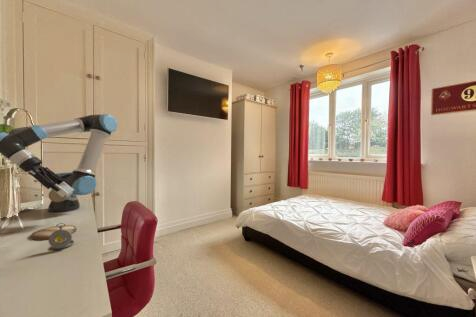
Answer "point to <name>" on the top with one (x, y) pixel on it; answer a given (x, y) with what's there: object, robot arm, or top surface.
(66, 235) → the pocket watch
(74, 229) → the brown round plate
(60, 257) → the top surface
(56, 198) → the ceramic mug
